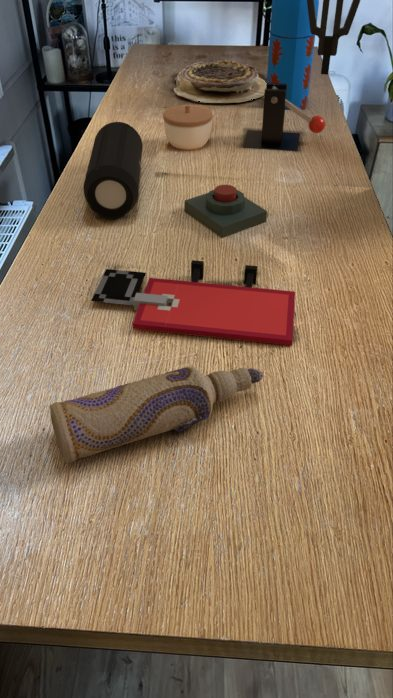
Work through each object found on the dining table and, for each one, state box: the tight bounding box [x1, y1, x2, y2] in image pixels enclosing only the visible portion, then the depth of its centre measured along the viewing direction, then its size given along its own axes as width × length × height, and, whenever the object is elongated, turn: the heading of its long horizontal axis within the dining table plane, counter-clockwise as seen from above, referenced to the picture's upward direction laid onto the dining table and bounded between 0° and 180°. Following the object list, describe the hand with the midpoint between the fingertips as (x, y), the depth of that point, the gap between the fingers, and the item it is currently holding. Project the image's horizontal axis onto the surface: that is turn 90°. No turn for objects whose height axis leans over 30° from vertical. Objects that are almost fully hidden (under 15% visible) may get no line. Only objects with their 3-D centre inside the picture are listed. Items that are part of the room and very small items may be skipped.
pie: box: [172, 59, 267, 104], centre depth 162 cm, size 28×27×5 cm
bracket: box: [242, 83, 301, 152], centre depth 129 cm, size 12×10×13 cm
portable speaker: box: [82, 121, 144, 220], centre depth 113 cm, size 26×10×10 cm, turn 2°
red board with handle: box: [90, 259, 296, 346], centre depth 88 cm, size 30×3×15 cm
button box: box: [183, 189, 268, 239], centre depth 108 cm, size 12×10×4 cm
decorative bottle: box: [49, 365, 264, 463], centre depth 69 cm, size 26×8×7 cm, turn 112°
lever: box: [272, 86, 326, 134], centre depth 127 cm, size 14×4×4 cm, turn 79°
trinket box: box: [162, 104, 213, 150], centre depth 129 cm, size 11×11×9 cm
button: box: [213, 184, 238, 203], centre depth 106 cm, size 4×4×2 cm
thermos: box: [266, 0, 320, 111], centre depth 144 cm, size 11×11×25 cm
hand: (324, 72), depth 121 cm, fingers closed
